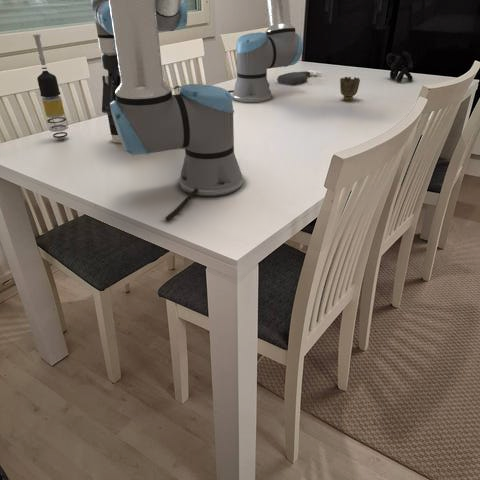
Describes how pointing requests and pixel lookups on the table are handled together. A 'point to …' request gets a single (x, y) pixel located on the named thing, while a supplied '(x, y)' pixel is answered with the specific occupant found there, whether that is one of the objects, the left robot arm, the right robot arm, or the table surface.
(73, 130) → the table surface
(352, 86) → the cup
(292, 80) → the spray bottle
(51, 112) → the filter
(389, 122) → the table surface
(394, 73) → the squiggle
